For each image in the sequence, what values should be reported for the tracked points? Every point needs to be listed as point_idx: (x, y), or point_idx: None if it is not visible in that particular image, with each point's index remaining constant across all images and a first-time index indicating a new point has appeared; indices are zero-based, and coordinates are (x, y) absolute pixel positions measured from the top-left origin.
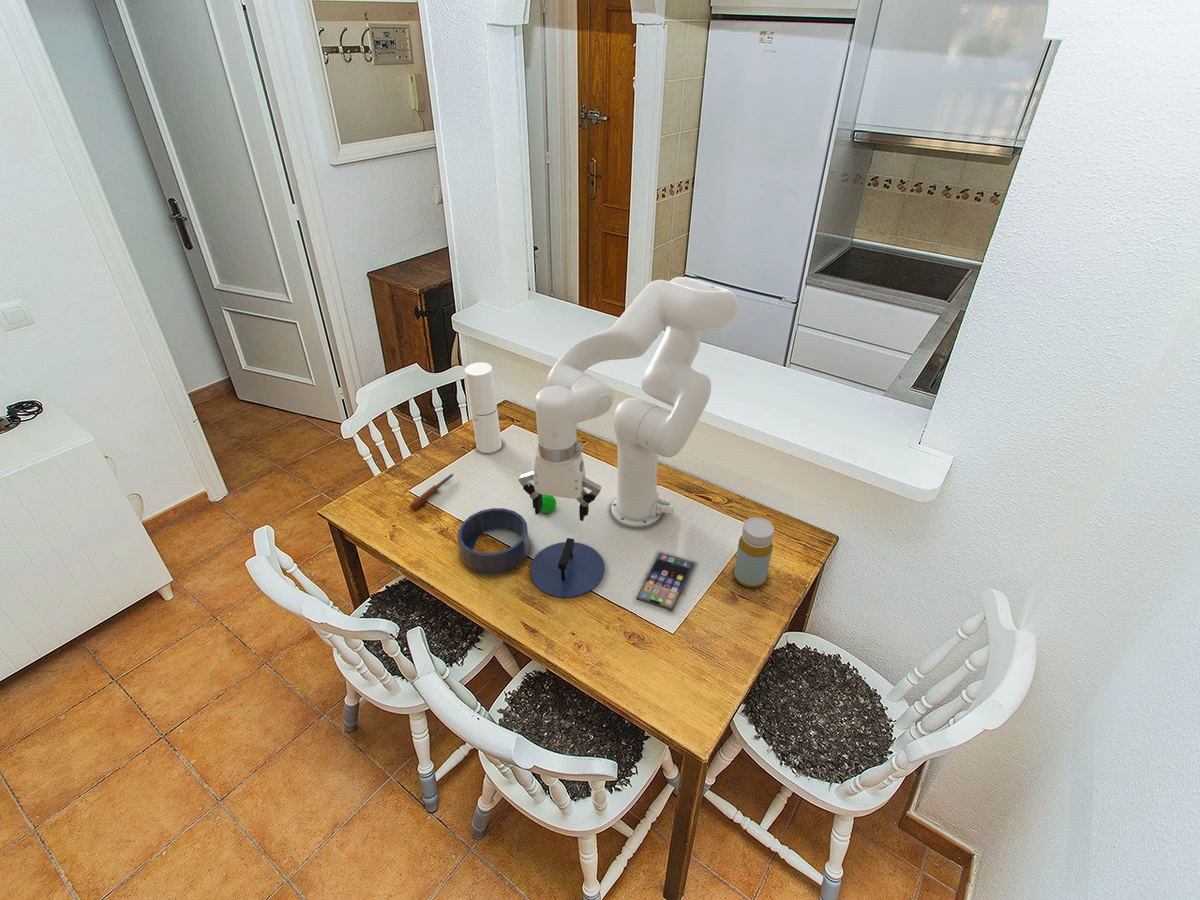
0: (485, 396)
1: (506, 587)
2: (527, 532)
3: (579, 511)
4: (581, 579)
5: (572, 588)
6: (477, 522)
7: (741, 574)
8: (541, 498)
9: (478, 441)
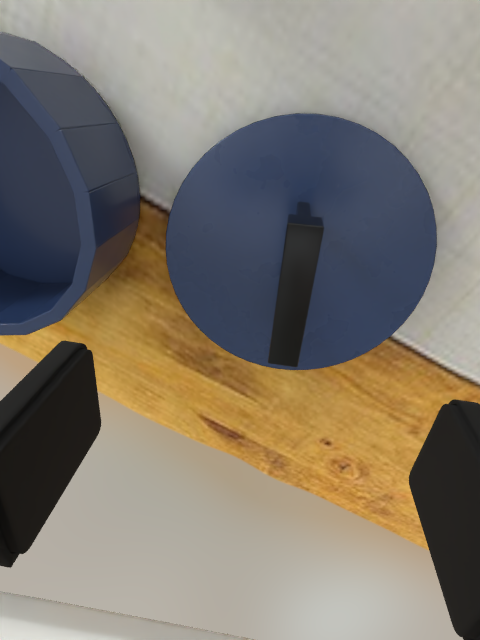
0: None
1: (126, 326)
2: (92, 187)
3: (438, 575)
4: (346, 310)
5: (318, 344)
6: None
7: None
8: (40, 430)
9: None
